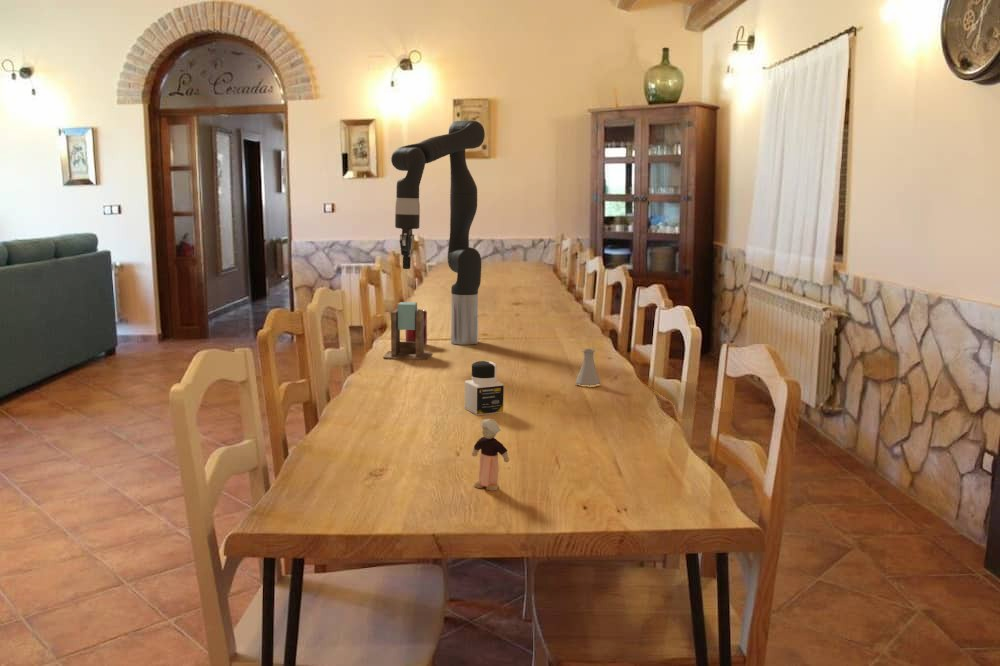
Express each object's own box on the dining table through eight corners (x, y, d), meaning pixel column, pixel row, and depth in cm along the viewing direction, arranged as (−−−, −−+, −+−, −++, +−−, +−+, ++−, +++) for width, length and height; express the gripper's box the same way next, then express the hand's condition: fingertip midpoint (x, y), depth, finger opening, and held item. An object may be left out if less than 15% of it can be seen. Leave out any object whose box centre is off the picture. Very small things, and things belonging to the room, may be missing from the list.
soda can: (425, 347, 285) (425, 312, 283) (404, 346, 285) (404, 311, 283) (427, 343, 292) (427, 308, 290) (407, 342, 292) (406, 308, 290)
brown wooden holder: (431, 353, 273) (431, 309, 271) (427, 359, 263) (427, 313, 261) (388, 352, 274) (388, 308, 271) (383, 358, 264) (382, 312, 261)
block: (417, 327, 270) (417, 302, 268) (414, 329, 264) (414, 304, 263) (400, 326, 270) (400, 302, 268) (397, 329, 264) (397, 304, 263)
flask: (604, 384, 234) (605, 348, 232) (596, 389, 227) (597, 353, 226) (579, 381, 237) (580, 346, 235) (570, 386, 230) (571, 350, 229)
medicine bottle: (477, 416, 199) (477, 366, 197) (464, 409, 205) (464, 360, 203) (503, 412, 202) (504, 363, 200) (490, 406, 208) (490, 358, 206)
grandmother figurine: (465, 488, 151) (465, 419, 149) (473, 481, 154) (474, 414, 152) (505, 494, 148) (506, 424, 146) (513, 487, 151) (514, 418, 149)
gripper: (416, 213, 255) (415, 271, 258) (422, 213, 268) (421, 267, 271) (391, 212, 255) (390, 270, 258) (399, 212, 268) (398, 266, 271)
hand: (406, 268), depth 264 cm, fingers closed
